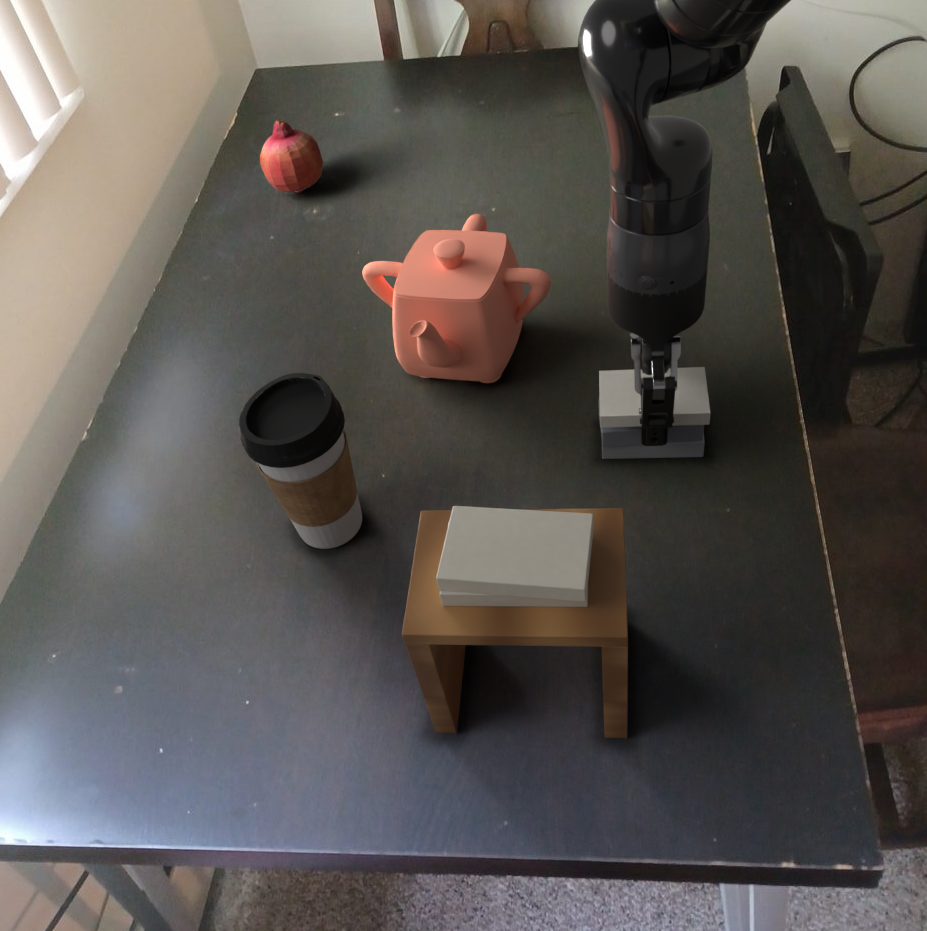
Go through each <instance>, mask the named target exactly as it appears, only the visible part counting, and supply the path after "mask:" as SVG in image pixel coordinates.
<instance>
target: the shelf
mask: <svg viewBox="0 0 927 931" xmlns="http://www.w3.org/2000/svg"><path fill="white" fill-rule="evenodd" d="M518 510H536V511H553V512H571V513H588V514H593V519H594V530H593V539H592V549H591V558H590V568H589V577H588V606H587V607H522V606H443V605H442V601H441V598H440V590H439V587H438V583H437V579H436V576H437V572H438V568H439V564H440V559H441V555H442V551H443V547H444V542H445V538H446V534H447V530H448V523H449V521H450V517H451V513H452V509H450V510H448V509H446V510H445V509H444V510H442V509H440V510H439V509H438V510H437V509H436V510H421V511H420V512H419V513H420V514H419V520H418V527H417V533H416V540H415V546H414V552H413V558H412V559H413V560H412V565H411V573H410V578H409V585H408V592H407V597H406V598H407V599H406V604H405V605H406V606H405V612H404V617H403V624H402V631H401V637H402V639H403V642H404V645H405V647H406V651H407V653H408V656H409V660H410V663H411V665H412V668H413V671H414V674H415V676H416V679H417V682H418V685H419V688H420V690H421V694H422V696H423V699H424V703H425V705H426V708H427V711H428V714H429V717H430V720H431V722H432V725H433V728H434V731H435V733H437V734H458V725H459V716H460V706H461V697H462V696H461V695H462V686H463V676H464V666H465V656H466V647H467V646H513V647H515V646H520V647H521V646H524V647H526V646H528V647H530V646H531V647H533V646H534V647H597V648H598V647H599V648H600V647H601V668H602V696H603V698H602V699H603V724H604V725H603V726H604V727H603V728H604V738H606V739H628V710H629V709H628V706H629V704H628V702H629V701H628V696H629V694H628V693H629V692H628V690H629V689H628V688H629V687H628V686H629V681H628V680H629V660H628V659H629V653H628V652H629V627H628V626H629V625H628V601H627V600H628V598H627V594H628V593H627V568H626V567H627V566H626V539H625V538H626V537H625V536H626V535H625V509H624V508H622V507H619V508H618V507H613V508H611V507H609V508H608V507H606V508H604V507H603V508H533V509H532V508H531V509H530V508H529V509H528V508H527V509H522V508H521V509H520V508H519V509H518Z"/></svg>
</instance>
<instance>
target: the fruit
mask: <svg viewBox="0 0 927 931" xmlns="http://www.w3.org/2000/svg"><path fill="white" fill-rule="evenodd" d="M271 133H272V135H270V136H269V137H268V138H267V139H266V140H265V142H264V144H263V146H262V148H261V150H260V154H259V164H260V169H261V170H262V172H263V174H264V176H265V178H266V181H267V182H268V183H269V184H270V185H271V186H272V187H273V188H274V189H276V190H277V191H279V192H281V193H284V192H295V191H300V190H302V189H304V188H307V187H308V188H310V187H311V186H310V185H312V184H313V185H315V184H316V183H317V182H318V180H319V179H320V178H321V176H322V172H323V165H324V160H323V157H322V156H323V155H322V152H321V150H320V147H319V144H318V142H317V141H316V139H314V137H313V136H312V135H310V134H309V133H308V132H305V131H303V130H300V129H297V128H294V129H293V128H292V126H291V125H290V124H289V123H288V122H287V121H286V120H284V119H276V120H275V122H274V124H273V128H272V132H271ZM315 182H316V183H315ZM314 183H315V184H314ZM313 185H312V186H313ZM309 186H310V187H309ZM308 188H307V189H308ZM303 191H304V190H302V191H300V192H296V193H295V194H298V193H301V192H303Z"/></svg>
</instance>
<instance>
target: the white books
mask: <svg viewBox="0 0 927 931" xmlns="http://www.w3.org/2000/svg"><path fill="white" fill-rule="evenodd" d="M451 510H452V513H451V517H450V521H449V523H448V530H447V534H446V538H445V542H444V547H443V551H442V555H441V559H440V564H439V568H438V572H437V576H436V579H437V583H438V587H439V590H440V598H441V601H442V605H443V606H522V607H587V606H588V577H589V568H590V558H591V549H592V539H593V530H594V519H593V514H588V513H571V512H553V511H536V510H518V509H517V508H497V507H483V506H482V507H481V506H466V505H465V506H462V505H453V506H452V508H451Z"/></svg>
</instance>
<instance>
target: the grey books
mask: <svg viewBox="0 0 927 931" xmlns="http://www.w3.org/2000/svg"><path fill="white" fill-rule="evenodd" d="M597 402H598V403H597V404H598V405H597V406H598V419H599V421H600V397H599V398H598V400H597ZM599 428H600V435H601V458H602V460H618V459H620V460H621V459H625V460H626V459H667V458H668V459H670V458H672V459H673V458H674V459H675V458H703V457H704V454H705V452H704V451H705V444H706V443H705V434H704V432H705V431H704V430H705V425H676V426H672V428H668V439H667V444H666V445H663V446H644V445H642V443H641V426H639V427H603V428H601V427H600V426H599Z"/></svg>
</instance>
